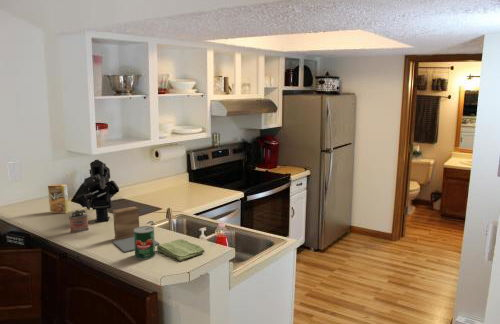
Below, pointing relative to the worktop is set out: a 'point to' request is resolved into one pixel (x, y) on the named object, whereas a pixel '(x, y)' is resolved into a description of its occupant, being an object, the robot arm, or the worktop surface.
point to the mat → (127, 244)
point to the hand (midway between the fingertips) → (97, 205)
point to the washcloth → (180, 249)
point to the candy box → (58, 198)
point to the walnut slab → (125, 222)
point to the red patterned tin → (78, 222)
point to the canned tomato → (144, 242)
